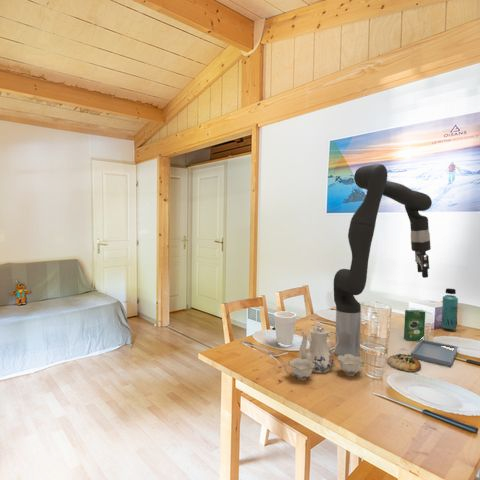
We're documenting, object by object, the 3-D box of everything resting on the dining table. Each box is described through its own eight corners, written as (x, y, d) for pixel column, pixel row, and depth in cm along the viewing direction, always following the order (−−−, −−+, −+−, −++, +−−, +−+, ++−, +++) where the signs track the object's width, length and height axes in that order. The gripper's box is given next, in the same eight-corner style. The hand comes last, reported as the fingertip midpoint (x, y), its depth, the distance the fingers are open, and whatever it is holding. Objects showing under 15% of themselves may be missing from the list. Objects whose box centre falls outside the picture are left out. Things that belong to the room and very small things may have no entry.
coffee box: (420, 338, 147) (421, 309, 146) (424, 340, 144) (425, 311, 143) (403, 338, 146) (404, 309, 146) (407, 341, 144) (407, 311, 143)
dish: (450, 367, 117) (450, 362, 117) (410, 358, 126) (410, 353, 126) (457, 351, 132) (457, 346, 132) (421, 343, 140) (421, 339, 140)
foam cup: (289, 350, 133) (289, 319, 132) (269, 345, 139) (269, 315, 138) (299, 343, 141) (300, 313, 140) (281, 339, 146) (281, 310, 146)
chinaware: (294, 392, 104) (297, 343, 101) (275, 365, 120) (277, 322, 117) (370, 381, 111) (375, 334, 109) (342, 356, 127) (346, 315, 124)
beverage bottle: (438, 328, 160) (439, 288, 159) (446, 327, 162) (448, 286, 161) (451, 333, 154) (453, 290, 153) (460, 331, 157) (461, 289, 155)
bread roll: (416, 360, 123) (417, 348, 122) (424, 378, 113) (425, 364, 112) (384, 358, 126) (384, 346, 125) (389, 375, 116) (389, 362, 115)
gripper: (407, 237, 155) (410, 271, 157) (414, 243, 141) (417, 279, 144) (425, 236, 152) (427, 269, 155) (434, 241, 139) (436, 278, 141)
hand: (422, 274), depth 149 cm, fingers open, 8 cm apart
